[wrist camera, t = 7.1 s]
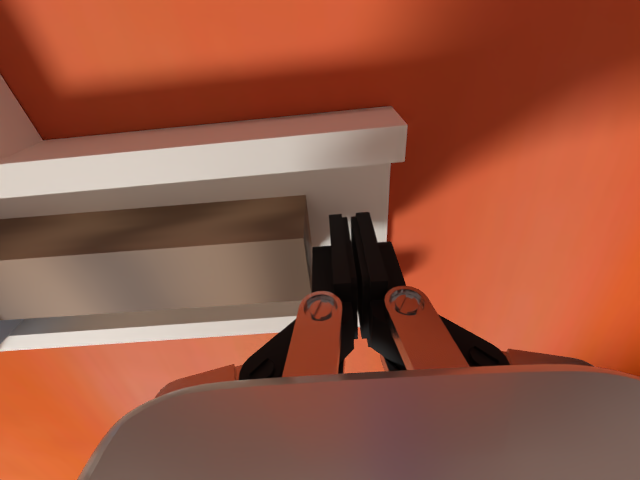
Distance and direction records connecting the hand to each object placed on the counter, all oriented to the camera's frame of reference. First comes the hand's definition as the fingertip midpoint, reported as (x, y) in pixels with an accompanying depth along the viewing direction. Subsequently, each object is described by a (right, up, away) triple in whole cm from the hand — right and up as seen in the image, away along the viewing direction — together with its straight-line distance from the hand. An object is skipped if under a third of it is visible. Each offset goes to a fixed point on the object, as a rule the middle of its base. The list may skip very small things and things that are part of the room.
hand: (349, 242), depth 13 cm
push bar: (-9, 0, +2) cm, 9 cm away
